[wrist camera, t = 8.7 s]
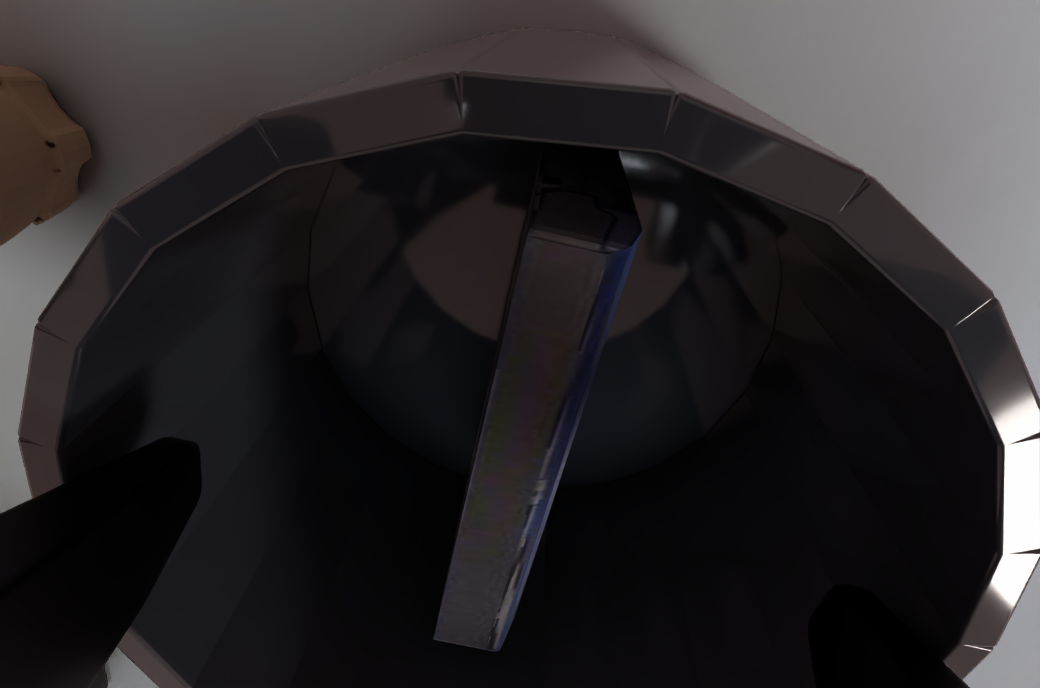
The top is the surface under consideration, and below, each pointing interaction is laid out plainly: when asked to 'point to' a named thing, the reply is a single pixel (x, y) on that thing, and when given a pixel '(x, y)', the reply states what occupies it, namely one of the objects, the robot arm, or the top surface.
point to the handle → (35, 153)
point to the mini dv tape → (538, 382)
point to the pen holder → (608, 409)
